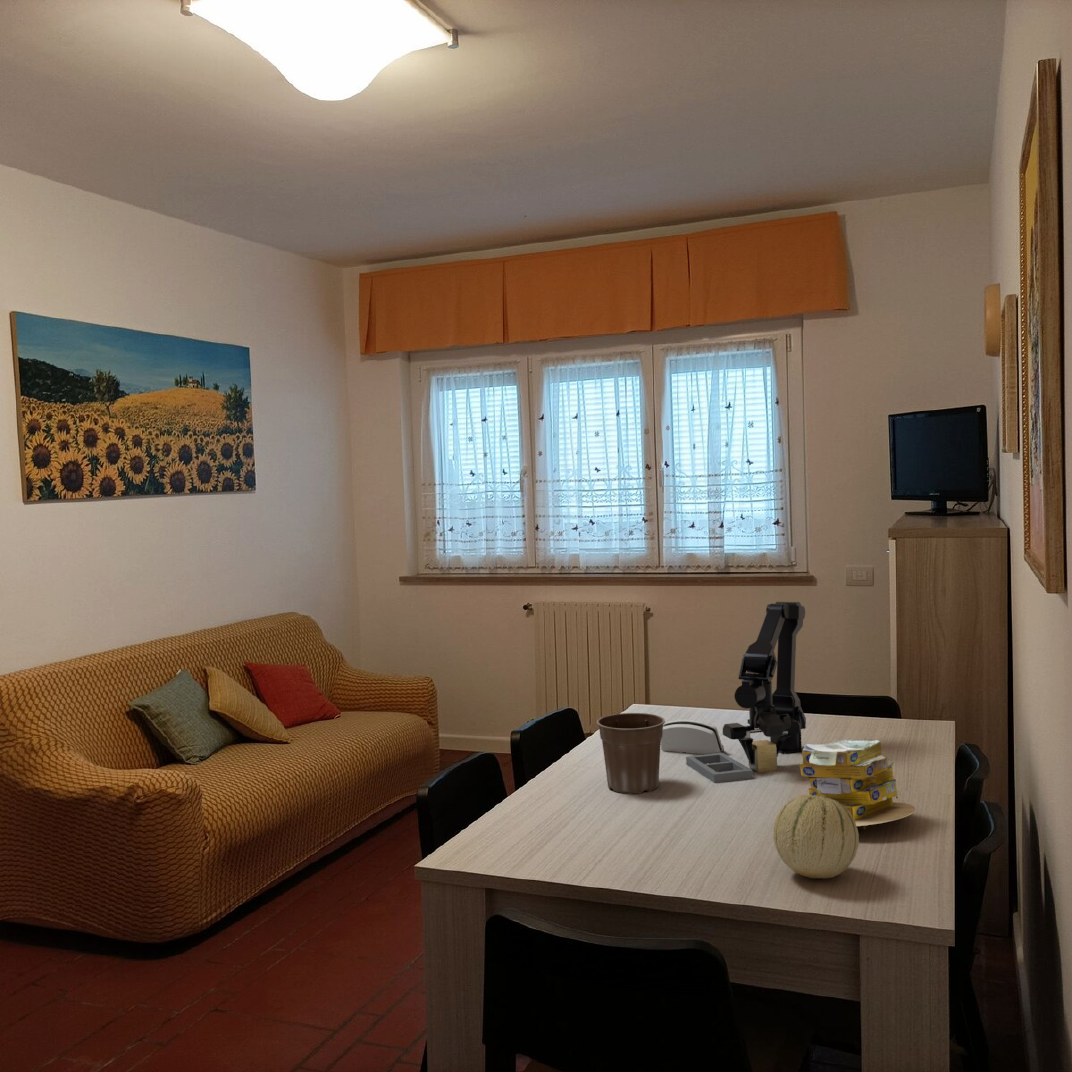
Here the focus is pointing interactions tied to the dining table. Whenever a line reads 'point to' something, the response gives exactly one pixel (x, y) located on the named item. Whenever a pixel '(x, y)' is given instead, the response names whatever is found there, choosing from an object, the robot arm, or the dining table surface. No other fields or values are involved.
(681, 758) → the dining table surface
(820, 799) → the cantaloupe
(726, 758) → the gray rectangular tray
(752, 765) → the metal-backed wooden cube
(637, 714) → the plant pot
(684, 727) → the grey arched block
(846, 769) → the stacked yellow boxes
